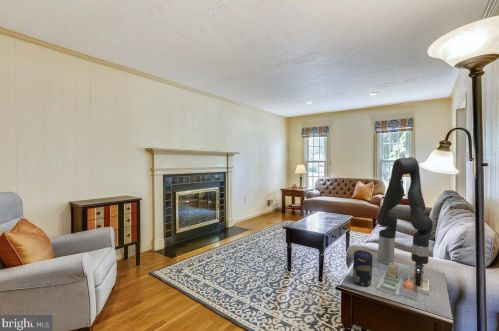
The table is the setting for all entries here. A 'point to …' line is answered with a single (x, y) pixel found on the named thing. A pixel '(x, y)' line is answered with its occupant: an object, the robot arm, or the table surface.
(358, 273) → the canister
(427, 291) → the pale shallow tray
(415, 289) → the console
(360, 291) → the table surface
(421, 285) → the billet
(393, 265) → the billet
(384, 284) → the board
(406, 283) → the button
